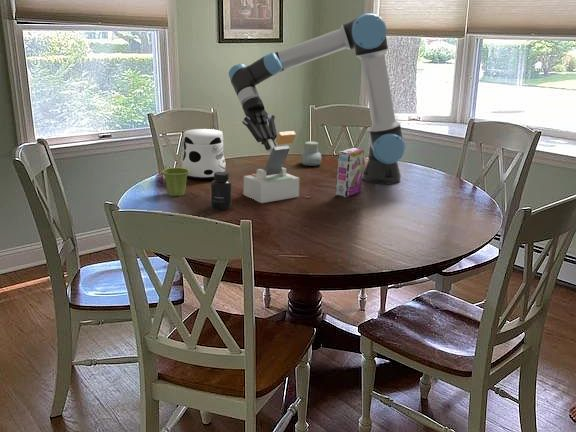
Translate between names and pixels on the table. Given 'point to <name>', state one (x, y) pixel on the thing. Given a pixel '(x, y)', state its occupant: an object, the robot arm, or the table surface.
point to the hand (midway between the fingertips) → (275, 156)
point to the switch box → (271, 186)
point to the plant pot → (176, 180)
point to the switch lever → (279, 152)
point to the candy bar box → (349, 172)
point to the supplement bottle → (221, 191)
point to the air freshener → (311, 154)
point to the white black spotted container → (203, 153)
